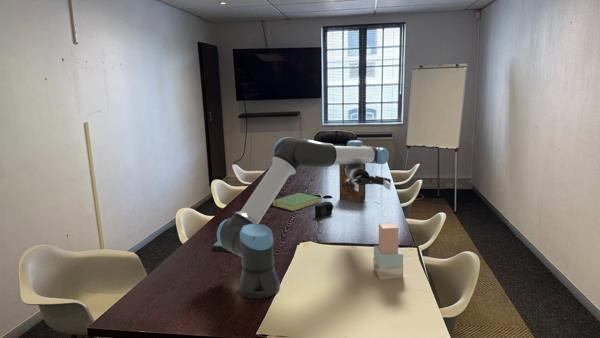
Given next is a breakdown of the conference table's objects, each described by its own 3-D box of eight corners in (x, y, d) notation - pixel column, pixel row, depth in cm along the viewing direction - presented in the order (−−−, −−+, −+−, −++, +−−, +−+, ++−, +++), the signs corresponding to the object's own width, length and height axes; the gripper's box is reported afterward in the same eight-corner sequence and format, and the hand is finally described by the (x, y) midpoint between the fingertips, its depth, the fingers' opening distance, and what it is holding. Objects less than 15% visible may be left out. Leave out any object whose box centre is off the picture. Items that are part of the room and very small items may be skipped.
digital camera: (322, 218, 224) (322, 206, 223) (315, 217, 228) (314, 205, 226) (333, 214, 232) (333, 202, 230) (326, 212, 235) (326, 201, 234)
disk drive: (250, 244, 192) (221, 242, 195) (250, 239, 191) (221, 236, 195) (242, 253, 182) (212, 250, 186) (241, 247, 182) (211, 245, 185)
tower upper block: (373, 257, 161) (373, 245, 160) (395, 256, 161) (396, 244, 160) (379, 267, 152) (379, 255, 151) (402, 266, 152) (403, 253, 151)
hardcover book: (299, 198, 269) (299, 192, 268) (320, 202, 256) (320, 197, 255) (271, 206, 252) (271, 200, 251) (292, 212, 239) (292, 206, 238)
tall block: (378, 247, 158) (378, 223, 156) (393, 246, 158) (394, 222, 156) (382, 253, 152) (382, 228, 150) (398, 252, 152) (398, 227, 150)
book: (338, 199, 260) (338, 162, 255) (342, 197, 265) (341, 160, 260) (361, 203, 252) (361, 164, 246) (365, 200, 256) (365, 162, 251)
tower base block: (373, 269, 162) (373, 257, 160) (394, 267, 162) (395, 256, 161) (380, 279, 153) (380, 267, 152) (403, 277, 154) (403, 265, 153)
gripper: (385, 183, 190) (402, 194, 169) (333, 185, 187) (344, 197, 166) (385, 167, 188) (402, 177, 167) (333, 170, 185) (344, 180, 164)
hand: (373, 187), depth 167 cm, fingers open, 13 cm apart
